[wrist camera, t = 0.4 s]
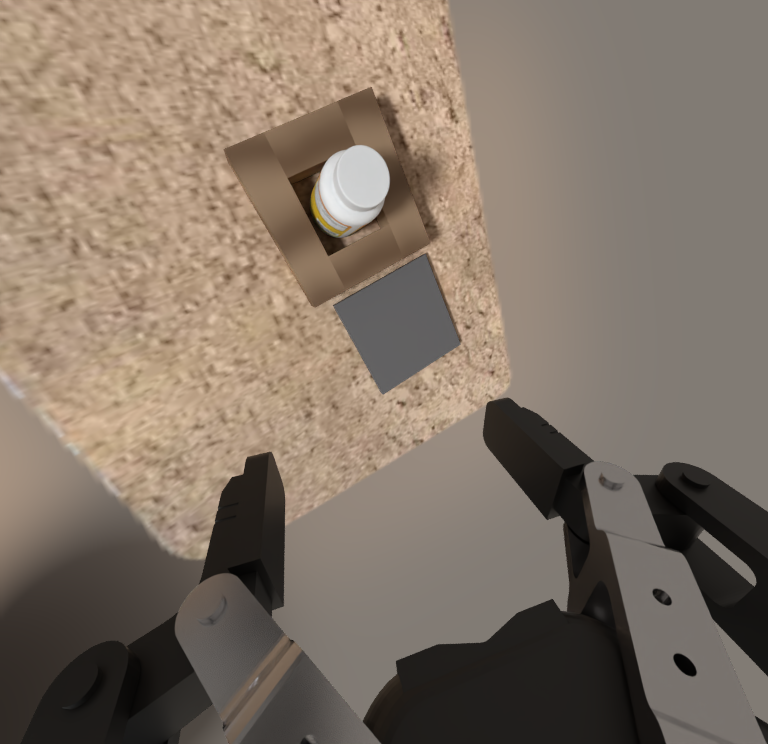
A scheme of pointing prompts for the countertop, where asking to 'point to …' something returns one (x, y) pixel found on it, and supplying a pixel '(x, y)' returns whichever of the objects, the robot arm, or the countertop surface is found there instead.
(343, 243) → the countertop surface
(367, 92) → the walnut socket
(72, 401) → the countertop surface
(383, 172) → the supplement bottle
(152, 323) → the countertop surface
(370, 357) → the rubber mat
